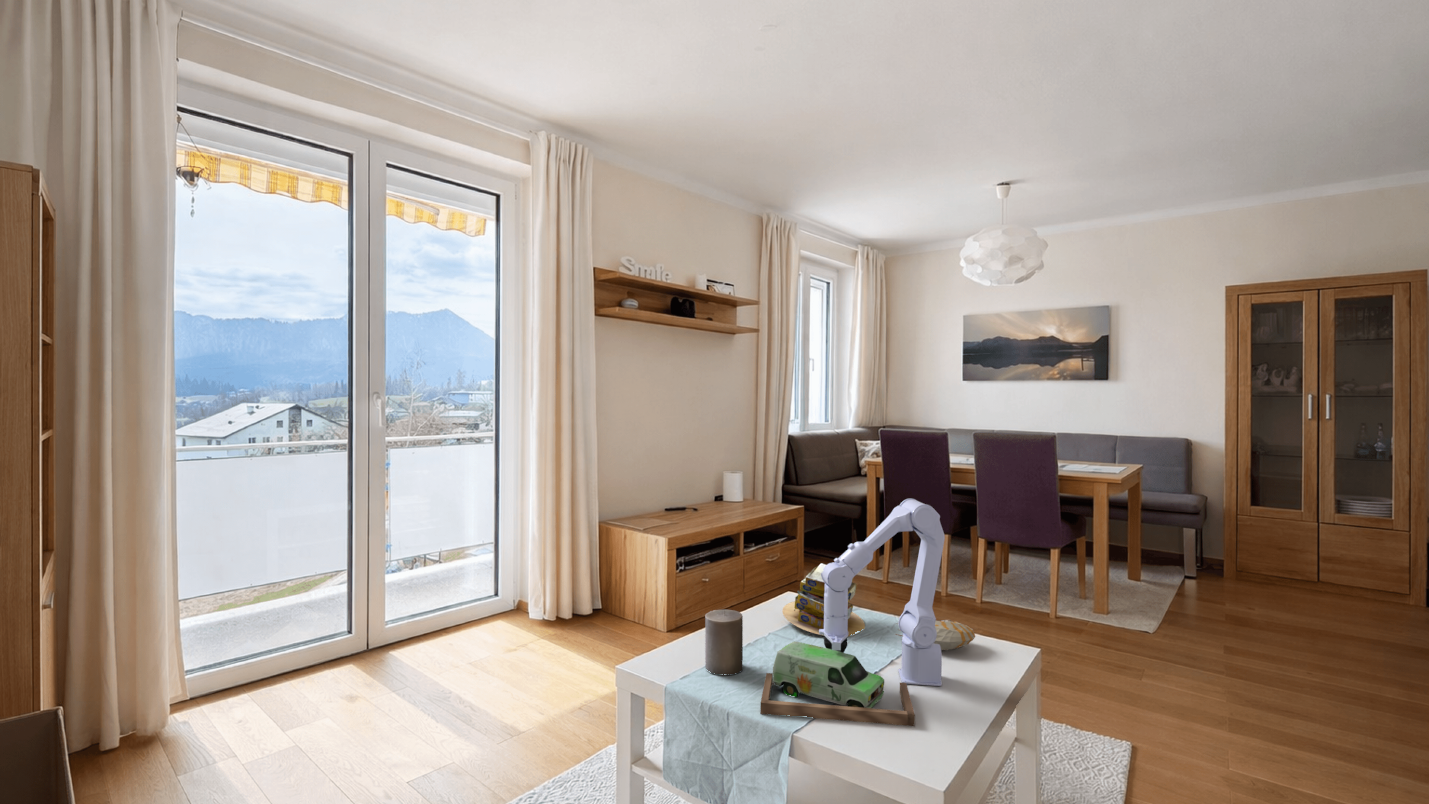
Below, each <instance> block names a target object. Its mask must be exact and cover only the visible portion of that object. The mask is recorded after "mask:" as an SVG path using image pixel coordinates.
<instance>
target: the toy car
mask: <svg viewBox="0 0 1429 804" xmlns="http://www.w3.org/2000/svg"><path fill="white" fill-rule="evenodd" d="M774 658H775V659H774V662H773V666H772V673H773V680H772V686H776V687H779V688H781V687H782V691H783V693H784V695H786V694H787V696H789V695H791V696H795V697H797V698H798V697H799V696H800V694H801V695H805V696H808V697H813V698H816V699H819V700H822V701H826V702H831V703H834V704H838V705H839V706H848V707H861V708H874V707H875V706H876V704H877V703H878V702H879V701H880V700H882V698H883V695H884V693H885V690H884V688H885V687H884V686H885V679H884V678H883V677H882V676H881V675H879V674H875V673H873V672H870V671H868V670H866V669H865V668H864V666H863V665H862V663H861V662H860V660H859V659H858V658H857V656H855V655H854V654H849V653H845V652H844V653H843V652H840V651H836V650H832V649H828V648H826V647H823V646H819V645H813V644H810V643H805V642H801V641H792V642H790V643H788V644H787V645H785V646H783V647H782V648H781V649H779V650H778V651H777V653H776V656H775V657H774ZM791 696H790V697H791ZM795 697H794V698H795Z"/></svg>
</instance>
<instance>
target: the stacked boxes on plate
mask: <svg viewBox="0 0 1429 804" xmlns="http://www.w3.org/2000/svg"><path fill="white" fill-rule="evenodd" d="M826 565H827V564H825V563H820V564H819V565H817V566H815V567H814V568H813V569H812V570H811V571H810V572H809V573H808V574H807V575H805V577H804V578H803V579H802V580H801V581H800V584H799V590H797V595H796V596H795V597H794V599H795V600H794V601H791V602H789V603H786V604H785V605H784V606H783V607H782V609H781V610H782V614H783V617H784V618H785V619H786V620H787V621H788V622H789V623H790V624H792V625H794V626H795V627H797V628H799V629H801V630H803V631H807V632H808V633H809V632H810V633H812V634H816V635H819V636H822V635H821V634H819V629H824V593H825V582H824V581H823V579H822V577H821V573H822V572H823V571H824V570H823V569H824V567H825V566H826ZM853 580H854V578H853V579H852V583H851V586H850V587H849V588H848V637H851V636H850V635H851V634H852V635H853V634H855V632H857V631H861V630H862V629H864V630H865V628H866V624H865V621H864V620H863V619H862V617H860V616H859V615H858V614H857V613H856V612H854V611H853V608H854V604H852V603H850V601H851V600H852V599H853V598H854V596H855V595H856V592H857V586H858V584H857V583H855V582H853Z"/></svg>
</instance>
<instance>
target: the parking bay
mask: <svg viewBox="0 0 1429 804" xmlns="http://www.w3.org/2000/svg"><path fill="white" fill-rule="evenodd" d="M772 681H773V672H766V674H765V678H764V682H763V688H762V689H763V690H762V694H761V699H760V709H759V710H760V711H759V713H760V715H767V716H768V714H771V715H770V716H780V715H786V716H785V717H788V716H787V715H790V716H789V717H792V716H807V717H813V718H812V719H817V720H819V719H820V720H833V721H842V722H843V721H845V722H857V723H868V724H878V725H879V724H881V725H893V726H905V727H915V725H916V714H915V711H914V705H913V702H912V699H911V695H910V692H909V688H908V685H907V684H906V683H901V682H899V696H900V700H901V704H902V705H901V706H902V708H903V710H901V709H899V710H898V709H886V708H885V709H883V708H874V707H873V708H861V707H848V706H847V705H846V706H844V705H833V704H821V703H820V704H819V703H810V702H809V703H808V702H797V701H795V702H794V701H783V700H782V701H781V700H770V699H771V695H772V688H773V684H772Z"/></svg>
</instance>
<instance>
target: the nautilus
mask: <svg viewBox="0 0 1429 804" xmlns="http://www.w3.org/2000/svg"><path fill="white" fill-rule="evenodd" d="M895 624H896V625H898V622H897V623H895ZM935 628H936V631H937V637H936V640H935V642H934V643H935V644H939V645H940V647H941V651H952V650H956V649H959V648H963V647H964V646H966V645H969V644H970V643H971V642H973V640H974V639H975V638H976V634H975V632H974V629H973V628H971V627H970V626H969V625H967V624H963V623H962V622H959V621H953V620H951V619H942V620H937V619H936V621H935ZM899 631H900V632H902V631H901V630H900V629H899ZM895 635H896V636H900V637H901V636H902V637H903V634H902V635H900V634H897V633H895Z"/></svg>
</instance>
